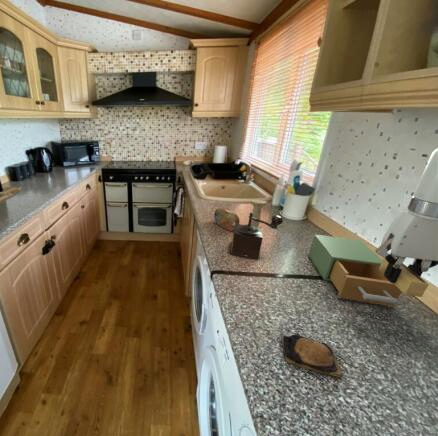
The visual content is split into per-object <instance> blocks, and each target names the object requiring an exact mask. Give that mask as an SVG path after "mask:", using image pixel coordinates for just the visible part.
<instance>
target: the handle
mask: <svg viewBox="0 0 438 436" xmlns="http://www.w3.org/2000/svg"><path fill="white" fill-rule="evenodd" d="M250 204H251V205H252V206H253V209H252V212H251V213H253V218H256V219H259V220H261V215H262V208H263V207H265V206H267V201H266V200H262V199H251V200H250ZM251 225H252V226H256V227H260V222H258V221H255V220H253V219H252V220H251Z"/></svg>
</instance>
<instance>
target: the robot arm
mask: <svg viewBox="0 0 438 436" xmlns="http://www.w3.org/2000/svg"><path fill="white" fill-rule="evenodd" d="M425 165H426V166H425V168H424V170H423V172H422V175H421V177H420V179H419V181H418V183H417V186H416V188H415V190H414V193H413V195H412V196H411V199H410V201H409V203H408V206H407V208H406V209H401V210H400V211H399V212H398V213H397V215H396V216H395V217H394V218H393V220H392V221H391V223H390V225H389V227H388V228H387V229H386V232H385V233H384V235H383V237H382V240H381V242H380V246H378V247H377V248H376V249H375V250H374V251H375V252H374V253H375V254H377V255H378V256H379V257H382V258H385V259H386V260H387V262H388V266H387V268H386V270H385V272H384V276H385V277H386V278H387V279H388V280H389V281H390V282H391V283H396V281H397V279H398V277H399V275H400V273H401V271H402V270H401V269H400V266H401V265H402V263H403V264H404V262H405V261H406V259H407V258H408V259H413V260H412V261H413V262H412V264H408V265H407V267H408V268H409V269H411V270H412V271H413V272H414V273H416V274H417V275H418V276H420V277H421V278H422V274H423V273H426V272H428V271H429V269H431V268H434V267H436V266H438V147H437V148H436V149H435V150H433V151H432V153H431V154H430V157H429V159H428V161H427V163H426V164H425ZM389 251H390V253H389ZM395 259H396V260H395Z"/></svg>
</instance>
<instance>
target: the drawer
mask: <svg viewBox="0 0 438 436" xmlns="http://www.w3.org/2000/svg"><path fill="white" fill-rule="evenodd" d="M379 267H380V265H372V264H365V263H358V262H350V261H343V260H335V259H334V262H333V265H332V267H331V270H330V273H329V278H330V279H331V281H330V282H332V283H333V285H334V287H335V288H336V289H337V292H338V294H337V296H338V297H339V298H340V299H341V298H342V299H345V300H352V301H357V302H358V301H359V302H365V303H371V304H377V305H382V306H389V307H395V305H397V304H398V303H399V301H398V300H399V299H400V296H401V294H402V293H403V292H402V291H401V290H400V289H399V288H398V287H397V286H396V285H395V284H394V283H391V282H390V281H389V280H388V279H387V278H386V277H385V276H384V274H383V273H382V272H381V271H380V270H379Z"/></svg>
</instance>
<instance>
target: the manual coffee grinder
mask: <svg viewBox="0 0 438 436" xmlns="http://www.w3.org/2000/svg"><path fill="white" fill-rule="evenodd" d="M252 219H253V220H255V221H258V222H259V223H261V224H264V225H266V226H268V227H270V228H271V229H274V230H277V229H278V226H279V225H282V224H283V223H284V219H283V217H281V216H280V215H272V216H271V223H269V222H267V221H265V220H262V219H260V220H259V219H256V218H253V213H252V212H249V215H248V223H247V224H242V223H239V224H235V227H234V230H233V233H232V237H231V238H232V239H231V244H230V255H232V256H235V257H241V258H247V259H248V258H249V259H254V260H255V259H256V260H259V258H260V252H261V247H262V243H263V239H264V235H263V230H262V227H260V226H258V227H256V226H252V225H251V220H252Z"/></svg>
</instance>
